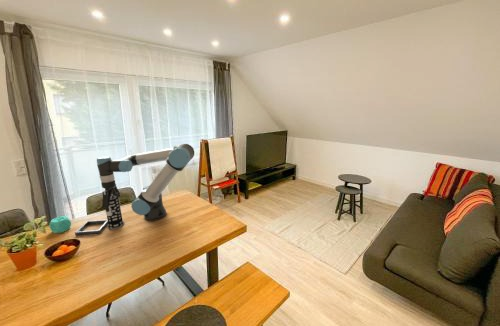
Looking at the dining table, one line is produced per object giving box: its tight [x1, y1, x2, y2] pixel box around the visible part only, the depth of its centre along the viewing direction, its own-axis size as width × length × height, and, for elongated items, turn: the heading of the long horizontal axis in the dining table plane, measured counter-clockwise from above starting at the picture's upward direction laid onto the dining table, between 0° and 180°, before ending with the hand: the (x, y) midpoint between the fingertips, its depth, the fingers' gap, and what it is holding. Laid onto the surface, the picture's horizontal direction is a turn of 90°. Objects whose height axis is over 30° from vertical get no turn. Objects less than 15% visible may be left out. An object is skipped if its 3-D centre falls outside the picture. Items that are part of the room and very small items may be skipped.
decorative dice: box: [48, 215, 72, 234], centre depth 142 cm, size 8×8×8 cm
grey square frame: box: [74, 219, 108, 237], centre depth 144 cm, size 14×14×2 cm
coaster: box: [106, 221, 126, 231], centre depth 148 cm, size 10×10×1 cm
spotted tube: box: [106, 194, 123, 228], centre depth 145 cm, size 8×8×20 cm
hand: (114, 210), depth 145 cm, fingers open, 13 cm apart
